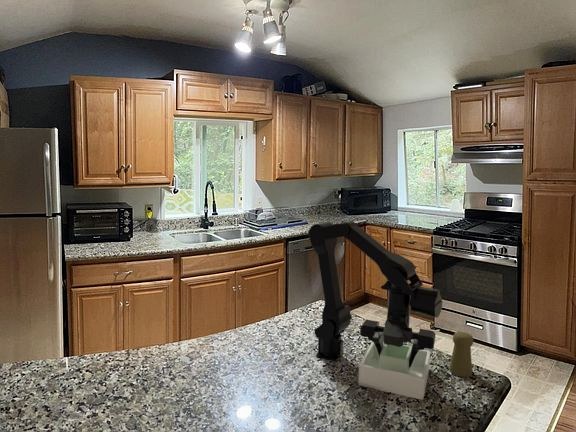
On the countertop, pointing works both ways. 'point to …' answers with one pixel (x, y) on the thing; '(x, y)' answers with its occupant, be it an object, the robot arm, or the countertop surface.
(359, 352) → the countertop surface
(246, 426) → the countertop surface
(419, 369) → the white open box
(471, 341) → the olive pepper shaker
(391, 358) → the sage crate
